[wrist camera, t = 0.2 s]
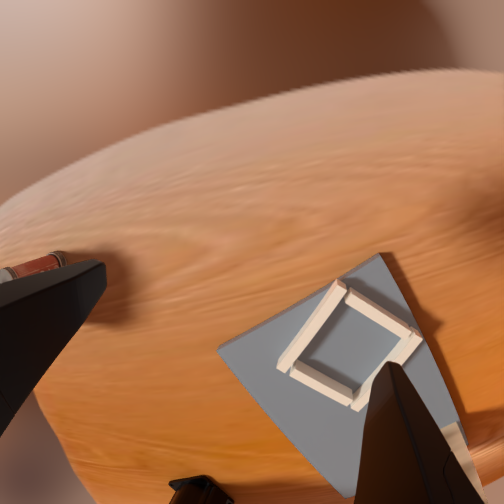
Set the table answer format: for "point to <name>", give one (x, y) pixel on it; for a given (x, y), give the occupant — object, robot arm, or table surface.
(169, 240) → the table surface
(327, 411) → the plate
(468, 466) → the birch pillar
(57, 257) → the lighter
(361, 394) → the socket
